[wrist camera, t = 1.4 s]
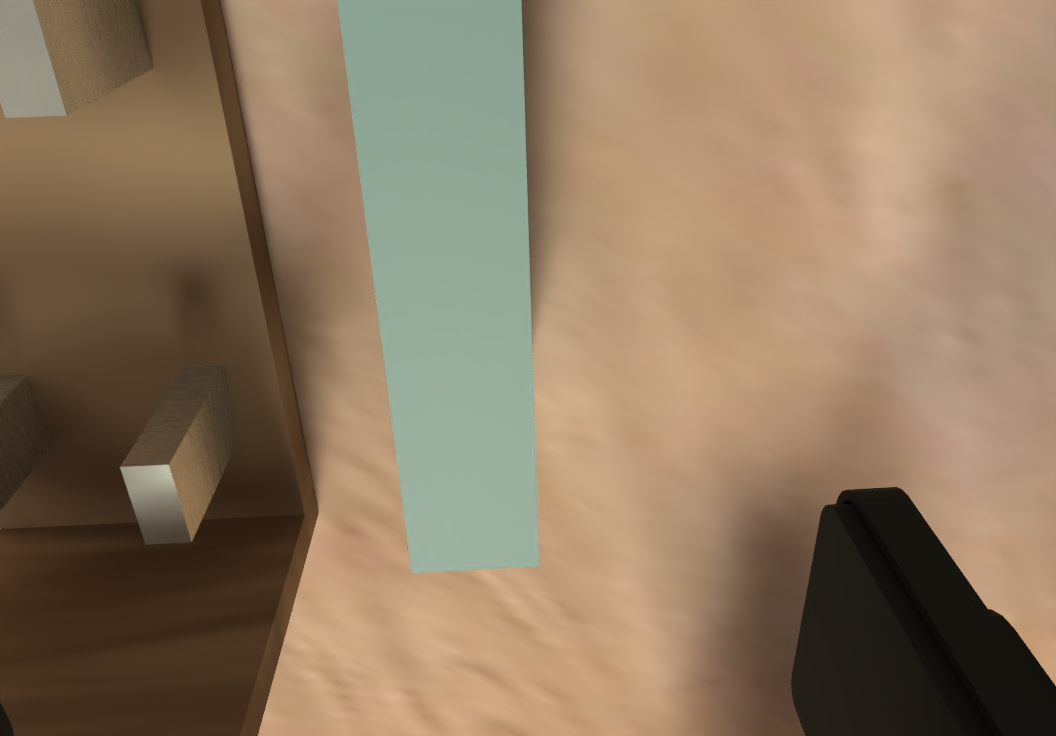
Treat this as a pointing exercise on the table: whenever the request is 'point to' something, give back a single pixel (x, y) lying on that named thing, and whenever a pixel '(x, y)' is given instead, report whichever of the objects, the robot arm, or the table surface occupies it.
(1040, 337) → the table surface
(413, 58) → the pale teal rectangular block
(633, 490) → the table surface
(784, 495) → the table surface
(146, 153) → the cabinet base
